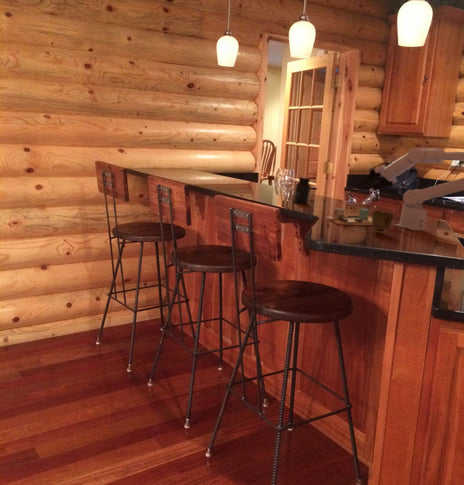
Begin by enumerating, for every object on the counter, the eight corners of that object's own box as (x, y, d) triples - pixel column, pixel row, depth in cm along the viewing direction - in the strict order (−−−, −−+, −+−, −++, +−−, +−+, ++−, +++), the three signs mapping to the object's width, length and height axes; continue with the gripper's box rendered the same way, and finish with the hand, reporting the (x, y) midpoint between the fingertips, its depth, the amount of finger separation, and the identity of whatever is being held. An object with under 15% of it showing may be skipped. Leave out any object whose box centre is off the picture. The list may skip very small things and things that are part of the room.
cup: (374, 230, 194) (378, 209, 192) (392, 235, 189) (397, 213, 187) (365, 232, 188) (369, 210, 186) (384, 237, 183) (388, 214, 182)
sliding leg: (373, 221, 206) (375, 211, 205) (369, 221, 205) (371, 211, 204) (362, 218, 211) (364, 208, 210) (358, 218, 210) (360, 208, 209)
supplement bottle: (292, 202, 243) (296, 177, 240) (294, 200, 249) (298, 176, 246) (306, 204, 241) (310, 179, 238) (308, 203, 247) (312, 178, 245)
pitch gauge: (385, 225, 210) (387, 212, 209) (342, 225, 197) (344, 211, 196) (367, 219, 218) (369, 207, 217) (324, 219, 205) (326, 206, 204)
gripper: (402, 166, 217) (375, 183, 225) (384, 154, 207) (357, 172, 215) (408, 179, 214) (380, 196, 221) (390, 168, 204) (362, 186, 211)
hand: (369, 185), depth 218 cm, fingers open, 7 cm apart
